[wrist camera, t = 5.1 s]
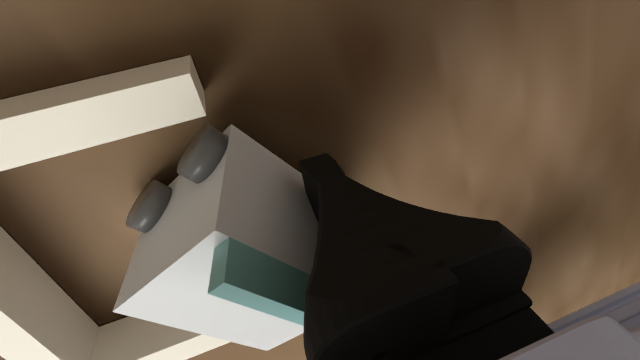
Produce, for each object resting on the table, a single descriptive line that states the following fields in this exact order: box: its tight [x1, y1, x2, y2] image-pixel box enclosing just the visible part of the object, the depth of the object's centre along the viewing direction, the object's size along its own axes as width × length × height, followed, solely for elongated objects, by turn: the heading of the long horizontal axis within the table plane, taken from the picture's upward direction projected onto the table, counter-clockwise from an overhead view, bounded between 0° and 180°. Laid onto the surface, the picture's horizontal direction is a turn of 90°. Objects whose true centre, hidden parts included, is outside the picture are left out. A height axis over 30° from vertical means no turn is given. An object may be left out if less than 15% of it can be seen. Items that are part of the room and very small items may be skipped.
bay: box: [0, 55, 230, 360], centre depth 12 cm, size 11×9×2 cm
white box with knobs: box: [113, 124, 318, 351], centre depth 11 cm, size 7×5×6 cm
